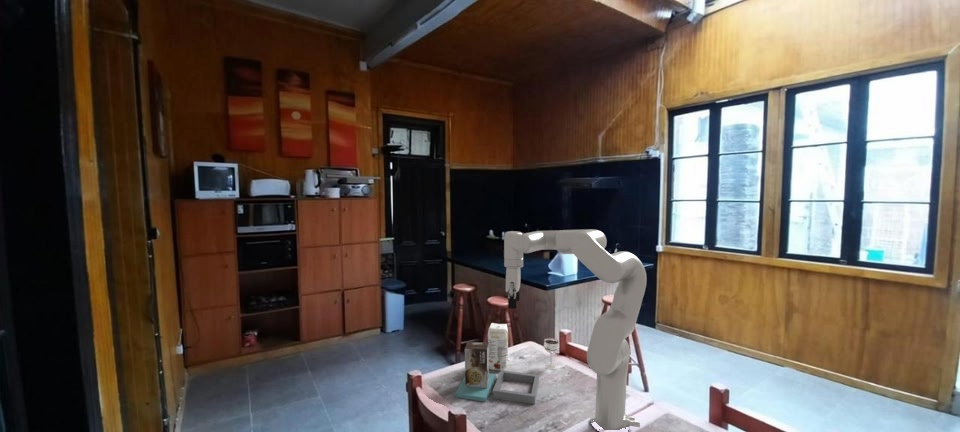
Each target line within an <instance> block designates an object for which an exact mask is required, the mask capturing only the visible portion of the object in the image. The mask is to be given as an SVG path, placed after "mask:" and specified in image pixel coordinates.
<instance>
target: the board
mask: <svg viewBox="0 0 960 432" xmlns="http://www.w3.org/2000/svg"><path fill="white" fill-rule="evenodd" d="M496 376H497V375H496V373H490V372H489V383H488V387H487V388H478V387H465V376H464V378H463V380H462V381H461V382H460V384H459V386H458V387H457V390H456V392H455V394H454V395H455V398H461V399H466V400H473V401H479V402H487V400H488V397H489V395H490V392H491V390H492V388H493V385H494V383H495V380H496V378H497V377H496Z"/></svg>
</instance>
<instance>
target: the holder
mask: <svg viewBox="0 0 960 432" xmlns="http://www.w3.org/2000/svg"><path fill="white" fill-rule="evenodd" d="M504 380H508V381H514V382H520V383H521V382H523V383H529V384H532V389H531V393H529V392H528V393H527V392H521V391H513V390H509V389H508V390H506V389H502V388H501V387H502V384H503V381H504ZM539 384H540V374H533V373H525V372H518V371H510V370H504V371H503V370H501V371H500V370H499V374H498V376H497V379H496V381H495V384H494V387H493V389H492V398H493V399H496V400H497V399H498V400H503V401H511V402H517V403H524V404H531V405H536V399H537V394H538V388H539Z"/></svg>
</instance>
